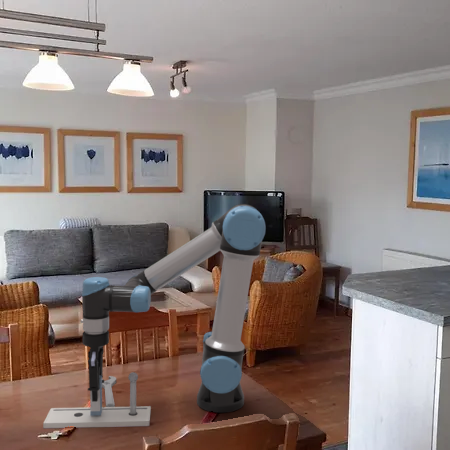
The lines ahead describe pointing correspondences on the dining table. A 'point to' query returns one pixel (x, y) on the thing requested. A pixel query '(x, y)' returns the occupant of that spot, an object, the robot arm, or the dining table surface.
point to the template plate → (107, 417)
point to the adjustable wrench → (109, 391)
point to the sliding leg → (100, 399)
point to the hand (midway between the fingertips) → (96, 407)
